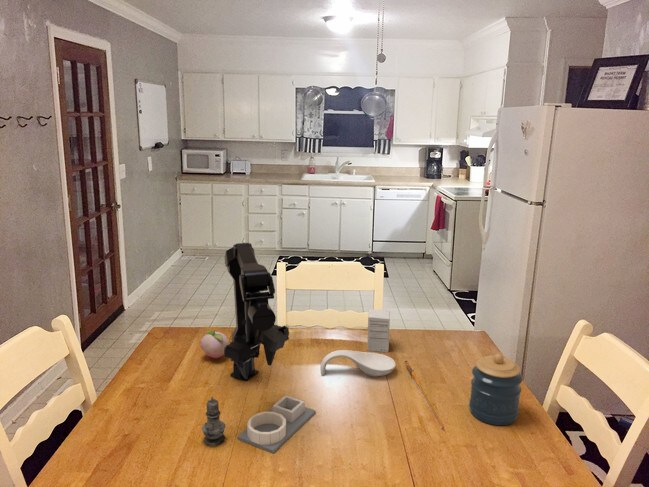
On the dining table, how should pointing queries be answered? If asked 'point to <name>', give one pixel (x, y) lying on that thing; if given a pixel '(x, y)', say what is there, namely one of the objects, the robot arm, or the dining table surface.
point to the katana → (415, 379)
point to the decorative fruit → (214, 344)
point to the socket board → (276, 424)
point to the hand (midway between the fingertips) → (258, 371)
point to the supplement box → (378, 330)
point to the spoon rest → (363, 361)
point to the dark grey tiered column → (213, 425)
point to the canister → (495, 390)
